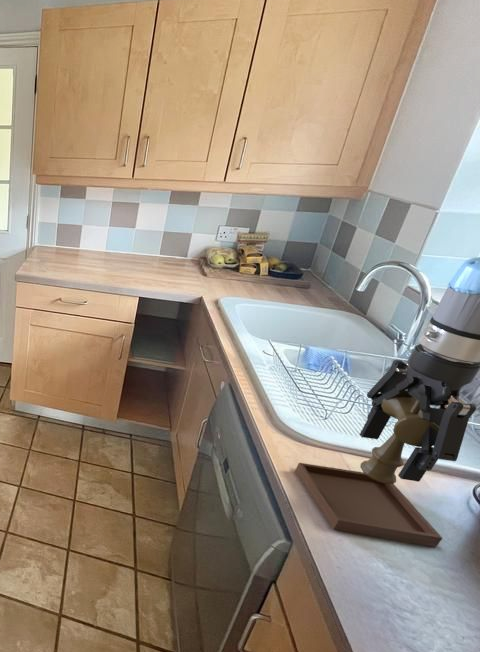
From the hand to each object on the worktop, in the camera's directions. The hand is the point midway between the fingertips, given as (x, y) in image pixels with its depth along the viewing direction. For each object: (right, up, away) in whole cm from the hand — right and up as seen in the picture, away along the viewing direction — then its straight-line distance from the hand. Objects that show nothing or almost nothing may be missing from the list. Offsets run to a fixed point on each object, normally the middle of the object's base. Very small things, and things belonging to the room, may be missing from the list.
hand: (387, 456), depth 76 cm
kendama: (0, -4, +2) cm, 5 cm away
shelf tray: (0, -12, +5) cm, 13 cm away
